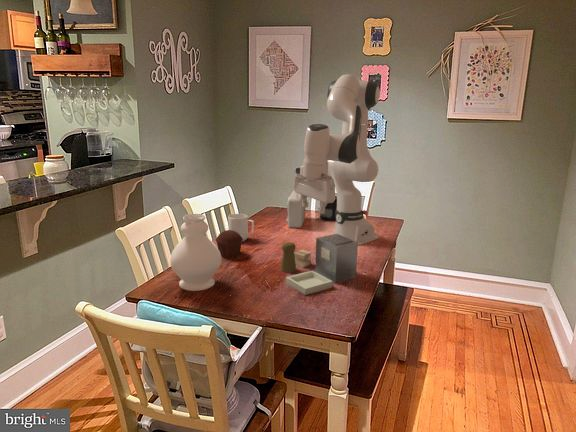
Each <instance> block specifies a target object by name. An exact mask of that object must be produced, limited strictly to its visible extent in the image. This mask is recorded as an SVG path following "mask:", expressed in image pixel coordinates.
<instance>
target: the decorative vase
mask: <svg viewBox="0 0 576 432" xmlns="http://www.w3.org/2000/svg"><path fill="white" fill-rule="evenodd" d="M182 217H183V218H182V220H183V221H184V222H183V223H182V224H181V226H180V231H181V232H182V234H183V235H185V236H184V237H183V238H182V239H181V240H180V241H179V242H178V243H177V244H176V246H175V247H174V248H173V250H172V252H171V254H170V259H169V260H170V261H169V262H170V263H169V264H170V267H171V269H172V271H173V272H174V273H175V274H176V275H177V276H178V277H179V278H180V279H181V280H180V281H179V282H178V284H179V285H178V286H179V287H180V289H182V290H185V291H190V292H196V291H197V292H198V291H204V290H208V289H210V288H212V287H213V286H214V285H215V284H216V281H215V279H214V278H213V276H214V275H215V274H216V272H217V271H219V268H220V267H221V264H222V256H221V254H220V251H219V249H218V246H217V244H215V243H214V242H213V241H212V240H211V239H210V238H209V237H208V236H206V235H205V234H206V233H208V231H209V225H208V223H207V222H206V221H204V220H206V215H204V214H202V213H188V214H186V215H183V216H182Z"/></svg>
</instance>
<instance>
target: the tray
mask: <svg viewBox="0 0 576 432" xmlns="http://www.w3.org/2000/svg"><path fill="white" fill-rule="evenodd" d="M333 283H334V282H333V281H331V280H329V279H328V278H326V277H324V276H322V275H320V274H318V273H316V272H315V271H314V270H310V271H309V270H308V271H305V272H300V273H297V274H293V275H289V276H286V277H285V284H286V285H288V286H289V287H291V288H292V289H295V290H297V291H298V292H300V293H301V294H303V295H304V296H306V295H310V294H313V293H317V292H320V291H324V290H328V289H330V288H333Z"/></svg>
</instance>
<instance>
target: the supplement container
mask: <svg viewBox="0 0 576 432" xmlns="http://www.w3.org/2000/svg"><path fill="white" fill-rule="evenodd" d="M320 205H321V204H320V203H319V206H320ZM336 209H337V195H335V201H334V202H333V203H327V205H326V207H325V208H324V213H323V214H320V213H319V218H320V220H322V221H325V222H336V217H335V216H336Z"/></svg>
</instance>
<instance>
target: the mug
mask: <svg viewBox="0 0 576 432" xmlns="http://www.w3.org/2000/svg"><path fill="white" fill-rule="evenodd" d="M248 218H249V215H247V214H245V213H232V214H229V215H227V224H228V225H227V226H228V229H227V230H233V231H235V232H237V233H238V234H239V235H240V236H241V237H242V238H243V240H242V242H245V241H246V240H247V239H248V237H249V236H250V235H252V234H253V233H254V226H255V223H254V222H255V221H254V220H252V219H248ZM249 222H251V232H250V233H249Z"/></svg>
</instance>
